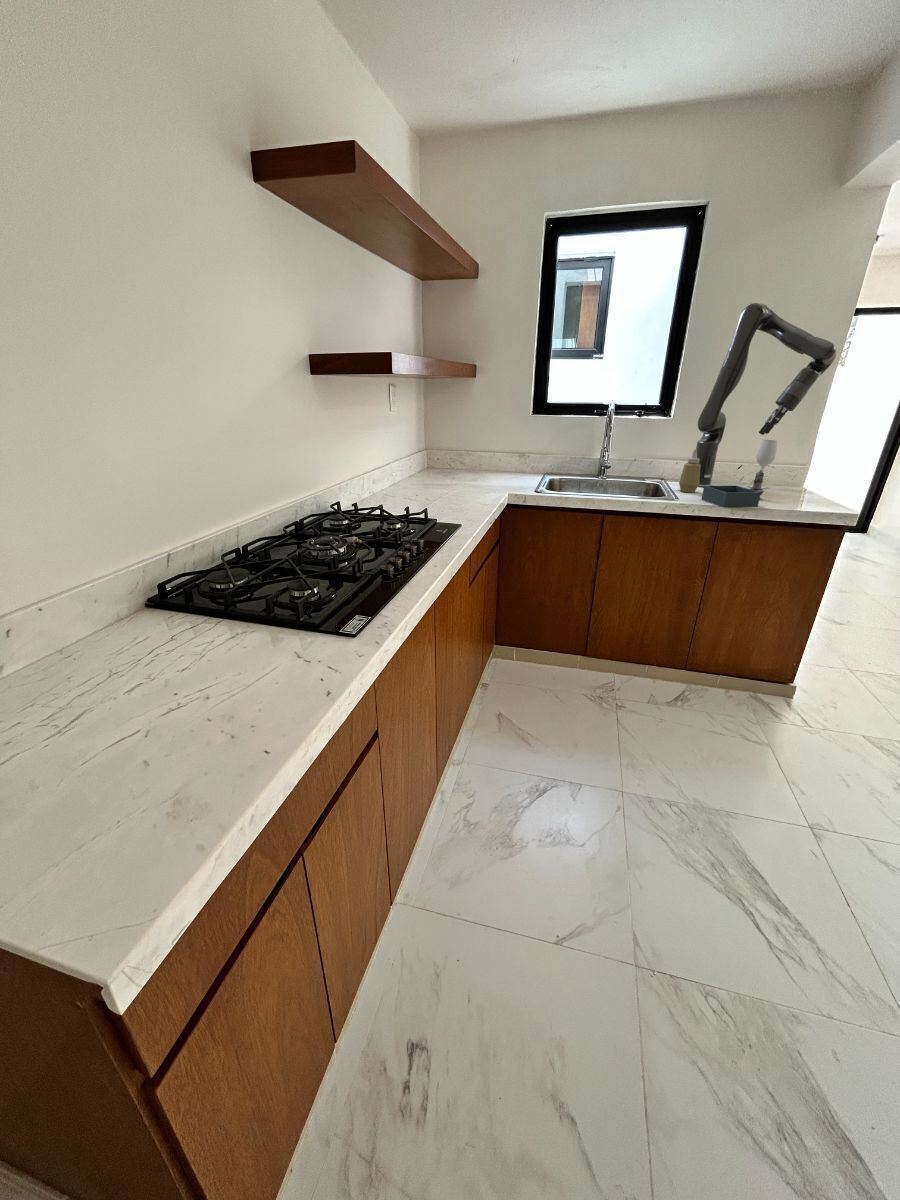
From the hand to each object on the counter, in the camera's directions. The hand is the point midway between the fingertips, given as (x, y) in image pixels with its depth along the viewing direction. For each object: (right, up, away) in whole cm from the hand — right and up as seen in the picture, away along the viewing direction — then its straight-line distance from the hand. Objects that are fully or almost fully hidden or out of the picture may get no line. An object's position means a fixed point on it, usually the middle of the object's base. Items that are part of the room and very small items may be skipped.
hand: (762, 433), depth 204 cm
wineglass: (+17, -15, +30) cm, 38 cm away
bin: (-16, -29, -3) cm, 33 cm away
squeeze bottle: (-22, -20, +19) cm, 35 cm away
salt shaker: (0, -26, +6) cm, 26 cm away
